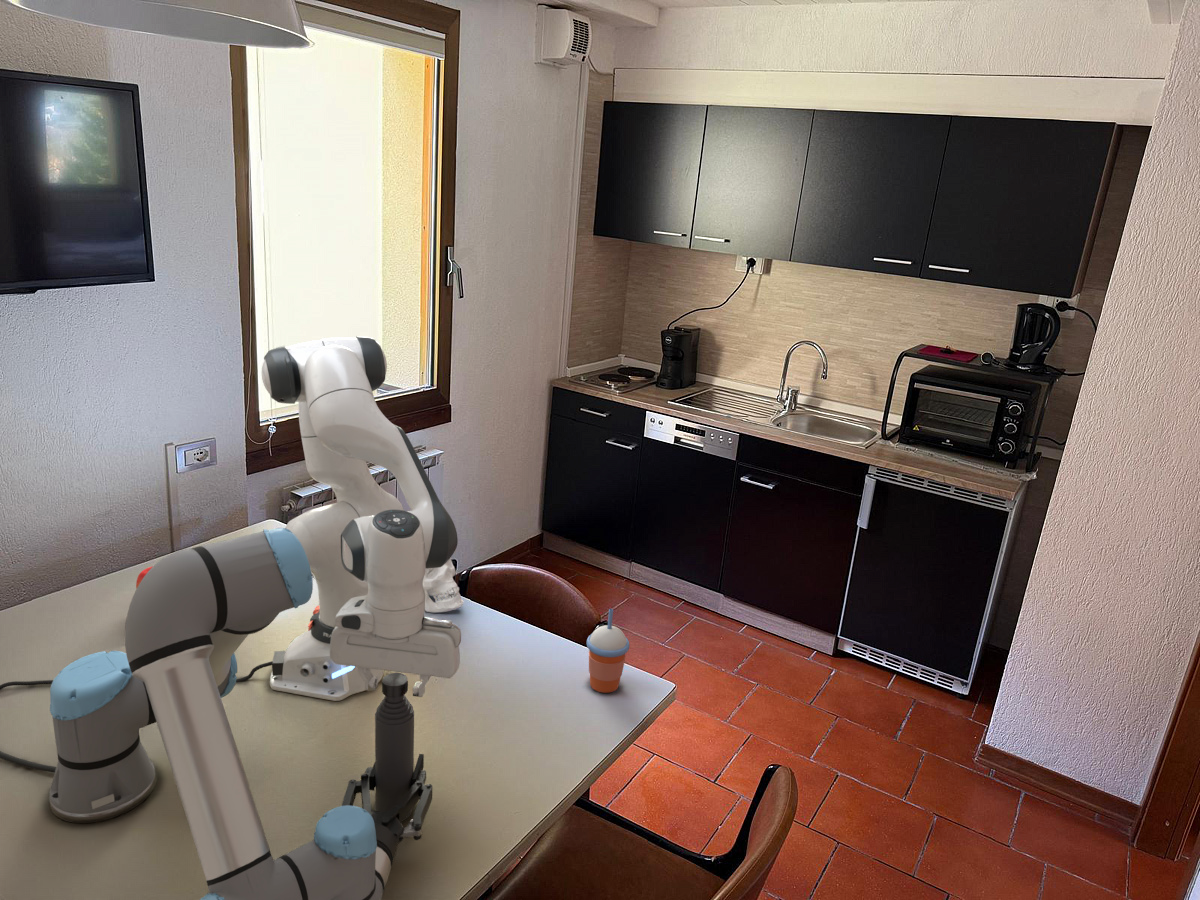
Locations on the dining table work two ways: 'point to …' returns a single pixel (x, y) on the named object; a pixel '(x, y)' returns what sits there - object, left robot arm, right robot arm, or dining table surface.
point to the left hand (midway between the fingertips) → (401, 759)
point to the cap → (394, 685)
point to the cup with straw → (606, 656)
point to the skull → (441, 589)
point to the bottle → (393, 752)
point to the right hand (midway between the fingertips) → (395, 691)
